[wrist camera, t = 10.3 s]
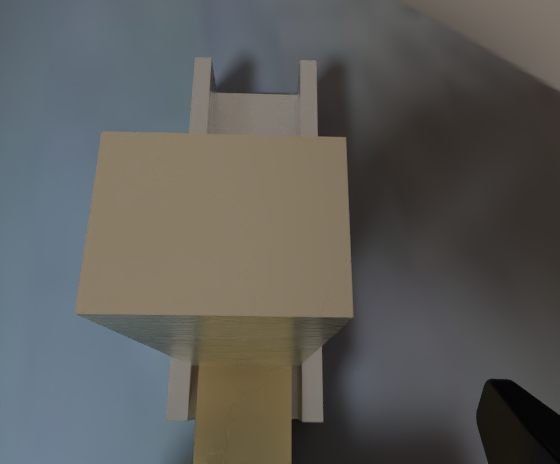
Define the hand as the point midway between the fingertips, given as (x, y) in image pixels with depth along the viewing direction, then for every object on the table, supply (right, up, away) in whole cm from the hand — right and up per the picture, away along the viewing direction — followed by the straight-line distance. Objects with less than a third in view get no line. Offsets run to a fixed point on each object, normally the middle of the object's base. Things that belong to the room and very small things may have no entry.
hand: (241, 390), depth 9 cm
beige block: (0, -6, +8) cm, 10 cm away
